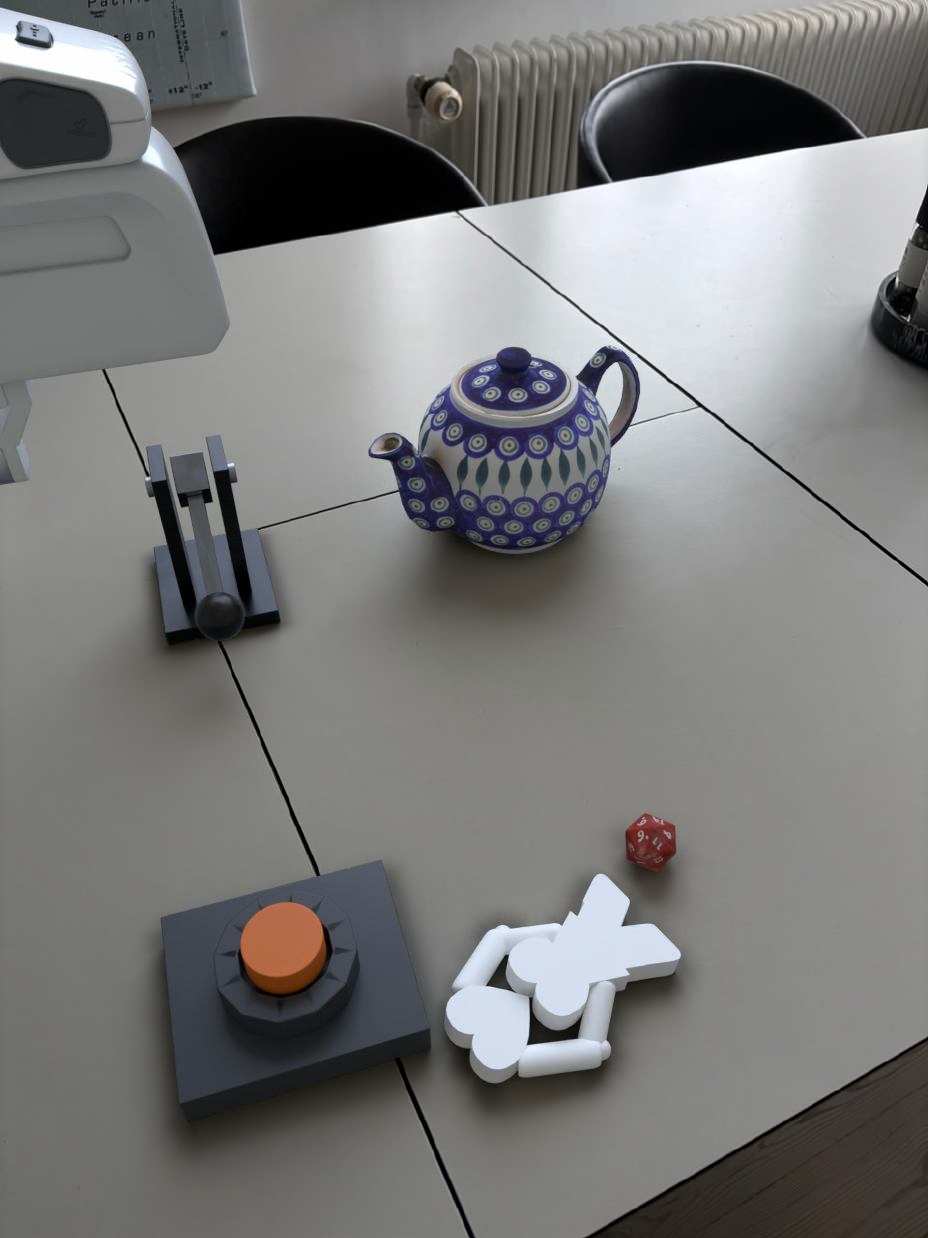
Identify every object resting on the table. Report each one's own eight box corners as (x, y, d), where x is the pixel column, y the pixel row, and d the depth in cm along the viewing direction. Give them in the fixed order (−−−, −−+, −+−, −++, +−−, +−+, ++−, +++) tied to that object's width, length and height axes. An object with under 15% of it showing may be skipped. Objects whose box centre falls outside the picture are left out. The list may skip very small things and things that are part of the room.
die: (680, 847, 59) (688, 817, 57) (662, 888, 57) (669, 858, 55) (633, 827, 60) (639, 797, 58) (613, 866, 58) (619, 836, 56)
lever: (250, 641, 67) (247, 627, 64) (202, 651, 67) (197, 637, 64) (213, 467, 71) (209, 446, 68) (167, 475, 70) (160, 454, 67)
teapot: (578, 428, 91) (592, 271, 81) (688, 513, 82) (719, 347, 72) (331, 518, 82) (312, 352, 71) (424, 625, 72) (418, 453, 62)
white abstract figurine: (410, 987, 52) (413, 964, 50) (581, 879, 58) (587, 856, 57) (519, 1132, 47) (524, 1111, 45) (693, 997, 53) (703, 975, 51)
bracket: (280, 622, 73) (257, 489, 65) (168, 645, 71) (129, 511, 63) (259, 539, 80) (236, 410, 72) (156, 558, 78) (120, 428, 70)
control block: (187, 1123, 48) (170, 1088, 45) (168, 938, 55) (153, 898, 52) (431, 1048, 50) (429, 1011, 47) (383, 881, 57) (379, 840, 54)
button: (251, 1005, 48) (246, 987, 47) (240, 932, 51) (234, 914, 50) (333, 981, 49) (330, 964, 48) (317, 911, 52) (314, 893, 50)
